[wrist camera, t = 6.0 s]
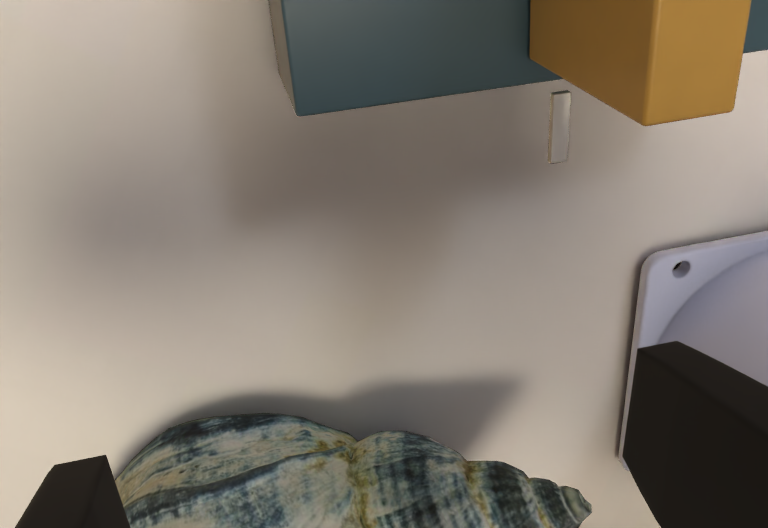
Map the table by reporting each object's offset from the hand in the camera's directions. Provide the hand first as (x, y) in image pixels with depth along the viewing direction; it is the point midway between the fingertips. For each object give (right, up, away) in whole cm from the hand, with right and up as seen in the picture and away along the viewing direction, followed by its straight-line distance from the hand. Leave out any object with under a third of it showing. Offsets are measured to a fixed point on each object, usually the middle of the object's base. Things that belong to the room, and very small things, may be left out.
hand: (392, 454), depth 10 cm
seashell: (-3, -4, +12) cm, 12 cm away
